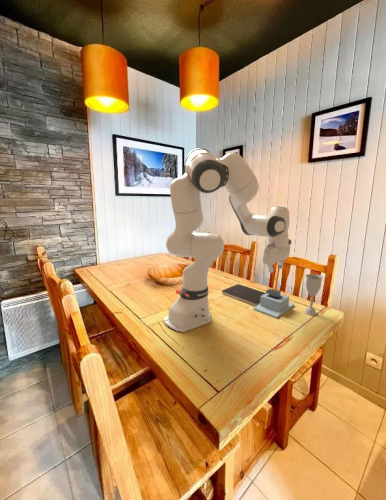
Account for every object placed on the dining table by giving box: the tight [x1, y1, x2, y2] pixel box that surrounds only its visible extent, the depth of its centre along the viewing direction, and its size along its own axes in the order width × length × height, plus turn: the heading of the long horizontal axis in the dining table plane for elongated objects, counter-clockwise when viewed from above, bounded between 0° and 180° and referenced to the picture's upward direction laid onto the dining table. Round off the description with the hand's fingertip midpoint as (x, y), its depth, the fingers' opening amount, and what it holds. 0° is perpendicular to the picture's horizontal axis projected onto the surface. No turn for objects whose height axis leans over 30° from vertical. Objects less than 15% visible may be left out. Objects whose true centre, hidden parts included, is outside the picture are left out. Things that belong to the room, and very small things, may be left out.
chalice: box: [304, 273, 324, 316], centre depth 105 cm, size 7×7×18 cm
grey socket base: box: [253, 292, 295, 319], centre depth 111 cm, size 18×12×6 cm, turn 133°
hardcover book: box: [221, 283, 266, 307], centre depth 127 cm, size 16×23×2 cm
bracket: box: [265, 288, 282, 300], centre depth 112 cm, size 3×6×8 cm, turn 43°
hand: (275, 270), depth 109 cm, fingers open, 8 cm apart
